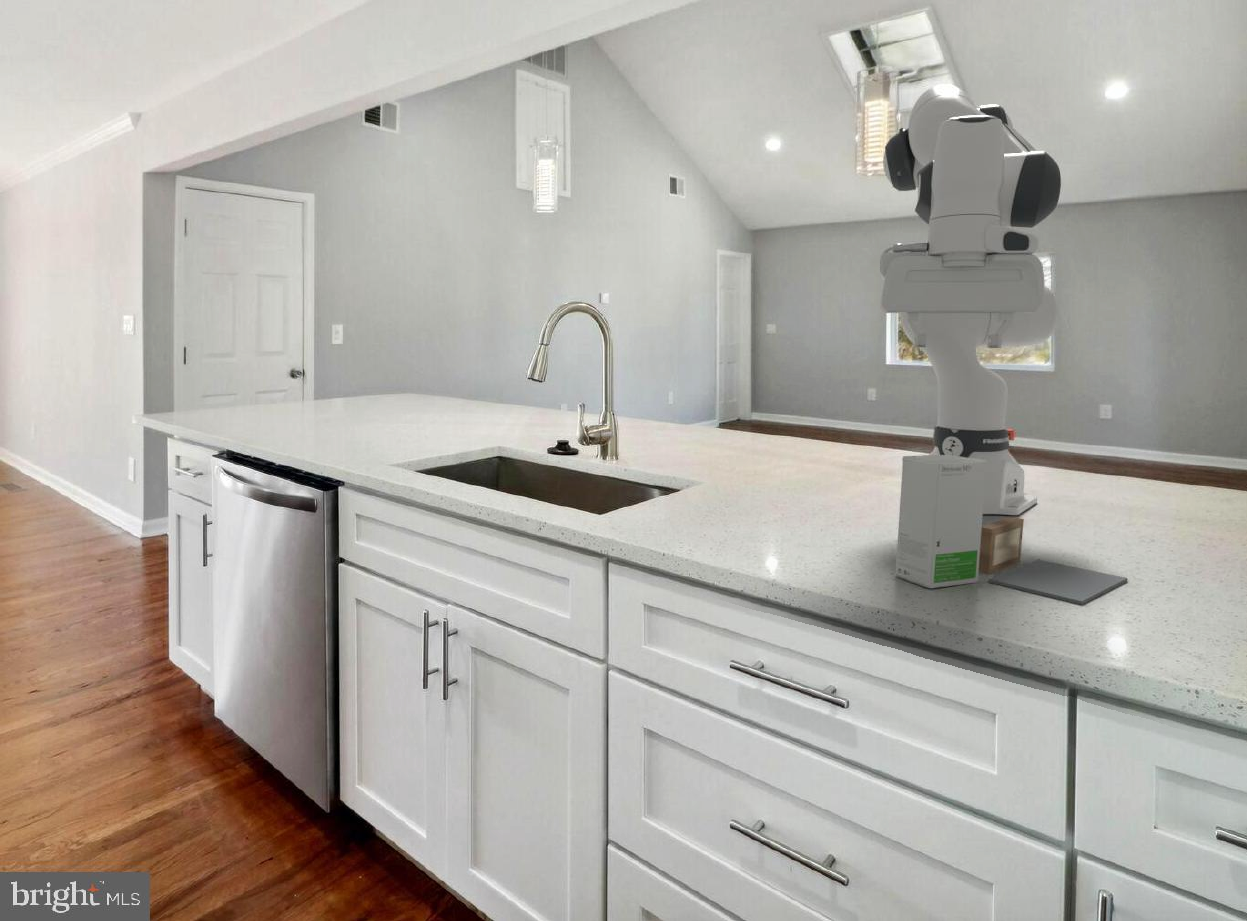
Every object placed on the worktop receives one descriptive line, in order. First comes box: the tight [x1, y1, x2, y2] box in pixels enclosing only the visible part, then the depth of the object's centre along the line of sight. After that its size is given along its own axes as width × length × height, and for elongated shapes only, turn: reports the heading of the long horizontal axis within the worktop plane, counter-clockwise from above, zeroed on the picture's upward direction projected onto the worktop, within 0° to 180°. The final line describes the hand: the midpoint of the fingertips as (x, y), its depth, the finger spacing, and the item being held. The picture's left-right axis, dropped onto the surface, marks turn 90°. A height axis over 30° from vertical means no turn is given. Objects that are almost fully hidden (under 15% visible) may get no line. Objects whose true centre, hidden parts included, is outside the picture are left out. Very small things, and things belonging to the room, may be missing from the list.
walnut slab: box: [978, 516, 1025, 575], centre depth 110 cm, size 9×2×6 cm, turn 130°
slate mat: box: [987, 558, 1128, 605], centre depth 103 cm, size 14×11×1 cm
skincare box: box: [895, 454, 987, 589], centre depth 103 cm, size 8×7×16 cm
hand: (956, 347), depth 111 cm, fingers open, 8 cm apart
